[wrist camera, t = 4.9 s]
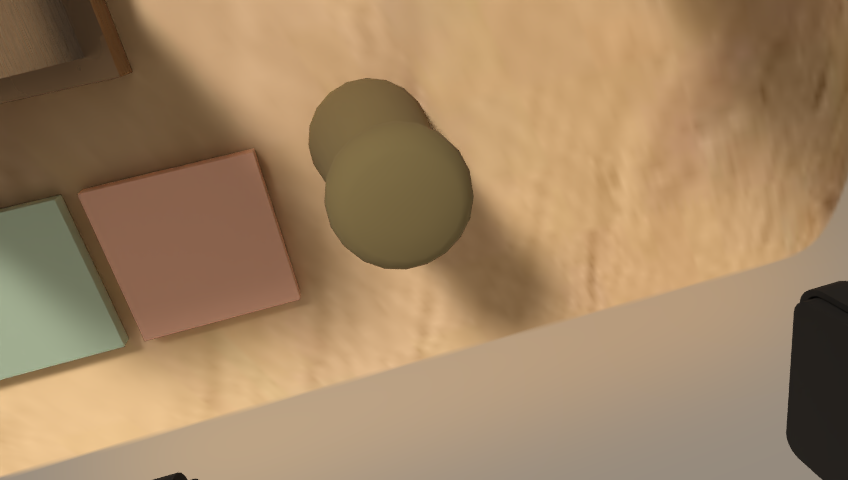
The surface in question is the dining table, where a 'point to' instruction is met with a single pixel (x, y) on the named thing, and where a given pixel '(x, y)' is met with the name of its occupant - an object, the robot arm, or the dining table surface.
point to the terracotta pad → (193, 243)
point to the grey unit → (56, 46)
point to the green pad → (50, 291)
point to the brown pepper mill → (388, 175)
